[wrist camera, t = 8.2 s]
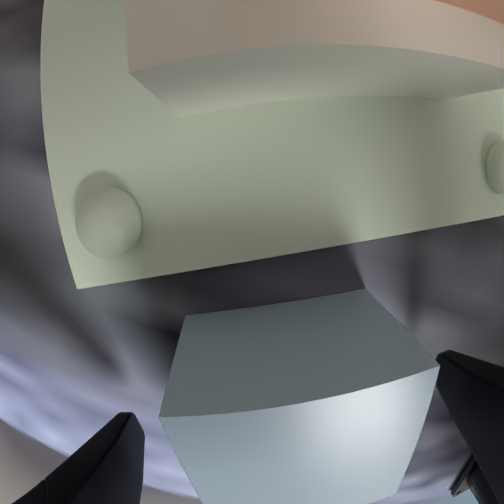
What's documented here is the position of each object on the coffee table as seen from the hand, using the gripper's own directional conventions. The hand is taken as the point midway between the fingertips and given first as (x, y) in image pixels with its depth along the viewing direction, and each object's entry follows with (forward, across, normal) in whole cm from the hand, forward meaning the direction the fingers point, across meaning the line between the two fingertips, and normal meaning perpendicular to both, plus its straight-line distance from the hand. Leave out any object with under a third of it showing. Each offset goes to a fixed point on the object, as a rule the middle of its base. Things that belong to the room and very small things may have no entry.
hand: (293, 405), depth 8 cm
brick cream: (+1, -2, -11) cm, 11 cm away
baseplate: (+1, -2, -11) cm, 11 cm away
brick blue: (+2, 0, 0) cm, 2 cm away
